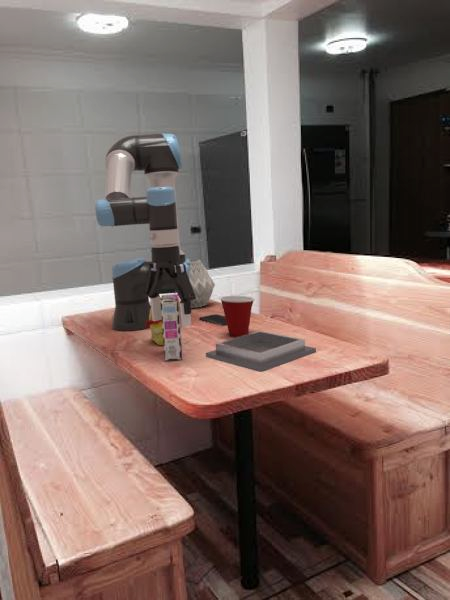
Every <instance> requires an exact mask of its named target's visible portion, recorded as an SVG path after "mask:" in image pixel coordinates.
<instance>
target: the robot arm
mask: <svg viewBox="0 0 450 600" xmlns="http://www.w3.org/2000/svg"><path fill="white" fill-rule="evenodd" d="M182 162H183V161H182V155H181V150H180V145H179V142H178V138H177V136H176V135H175V134H173V133H151V134H137V135H136V134H135V135H128V136H124V137H122V138H121V139H119V140H117V141H116V142H115V143H114V144H113V145H112V146H111V147H110V148H109V149H108V151H107V153H106V156H105V160H104V166H105V169H106V171H107V174H106V183H105V192H104V193H105V194H104V198H101V199H98V200H96V201H95V203H94V204H95V217H96V222H97V224H98V226H100V227H112V228H114V227H118V226H119V227H120V226H132V225H135V226H136V225H148V226H149V237H150V245H151V246H152V247H151V248H150V251H151V252H150V253H151V256H150V257H151V261H147V259H146V258H145V257H137V258H136V257H135V258H132V259H131V258H130V259H126V260H125V259H124V260H122V261H119V262H116V263H115V264H114V263H113V266H112V268H111V270H112V272H111V273H112V276H111V279H112V283H113V294H114V305H115V307H114V311H113V315H112V321H111V323H112V325H111V326H112V329H113V330H115V331H121V332H122V331H123V332H126V331H139V330H145V329H146V327H145V324H146V323H147V321H149V313H150V309H151V308H152V319H153V321H158V320H162V316H161V303H160V297H161V295H170V294H178V295H179V296H178V298H179V297H180V298H179V309H180V323H181V328H186V327H189V326H192V308H191V301H192V300H195V299H196V296H195V293H194V291H193V288H192V285H191V283H190V280H189V270H190V260H191V259H189V258H186V253H185V252H184V251H183V250H182V249H181V245H180V244H181V242H180V231H179V217H178V205H177V193H176V192H177V191H176V178H177V177H178V176H179V174H180V173H179V170H181V169H182V168H183V163H182ZM137 171H138V172H141V171H142V172H143V174H144V177H145V178H146V179H147V180H148V181H149V187H148V188H147V190H146V196H142V197H141V196H139V197H132V182H133V181H132V178H133V176H132V175H133V172H137ZM190 295H191V296H190ZM158 296H160V297H158ZM147 329H150V324H149V327H148V328H147Z"/></svg>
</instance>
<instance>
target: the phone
mask: <svg viewBox="0 0 450 600" xmlns="http://www.w3.org/2000/svg"><path fill="white" fill-rule="evenodd" d="M198 320H199V321H200V320H202V321H201V322H204V321H205V322H204V323H208V322H209V324H212V325H217V326H219V325H220V327H225V326H227V324H226V319H225V315H222V314H217V313H216V314H215V313H214V314H210V315H205V316H200V317H198Z"/></svg>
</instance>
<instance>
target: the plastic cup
mask: <svg viewBox="0 0 450 600" xmlns="http://www.w3.org/2000/svg"><path fill="white" fill-rule="evenodd" d="M219 299H220V303H221V305H222V309H223V314H224V316H225V319H226V324H227V331H228V335H229V337H232V338H236V337H240V336H243V335H246V334H249V330H250V323H251V315H252V314H251V313H252V308H253V304H254V301H255V300H256V298H255V297H252V296H247V295H224V296H221V297H219Z"/></svg>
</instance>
